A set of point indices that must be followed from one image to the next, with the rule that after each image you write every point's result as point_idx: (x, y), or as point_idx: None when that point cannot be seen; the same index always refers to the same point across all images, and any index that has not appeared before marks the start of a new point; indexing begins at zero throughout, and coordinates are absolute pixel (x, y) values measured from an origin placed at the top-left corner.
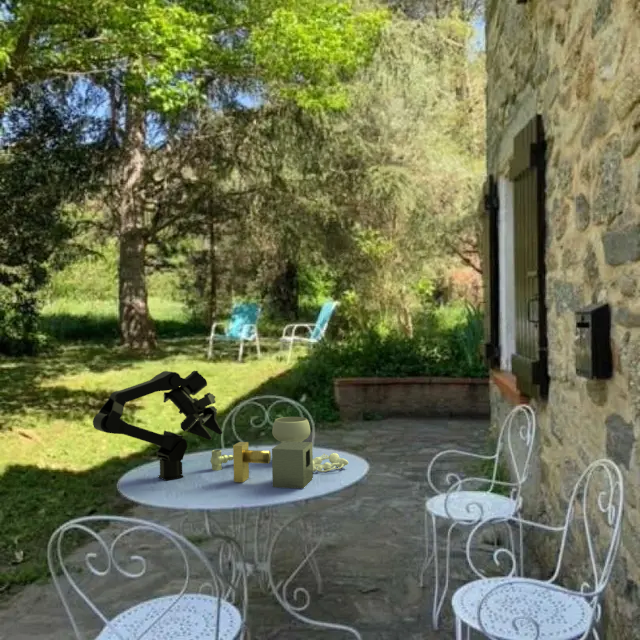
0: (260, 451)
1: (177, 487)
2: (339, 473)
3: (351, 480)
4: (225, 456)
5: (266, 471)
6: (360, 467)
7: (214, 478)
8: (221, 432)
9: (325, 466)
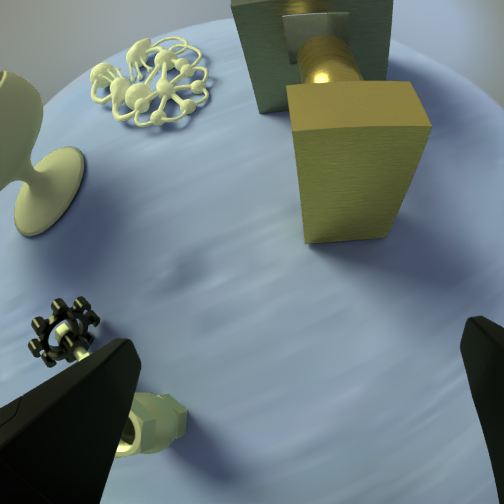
0: (340, 55)
1: None
2: (195, 44)
3: None
4: None
5: (179, 194)
6: None
7: (336, 363)
8: (128, 346)
9: (174, 56)
